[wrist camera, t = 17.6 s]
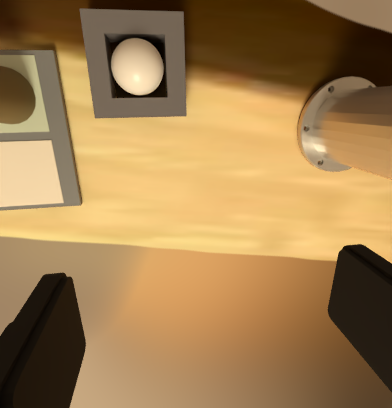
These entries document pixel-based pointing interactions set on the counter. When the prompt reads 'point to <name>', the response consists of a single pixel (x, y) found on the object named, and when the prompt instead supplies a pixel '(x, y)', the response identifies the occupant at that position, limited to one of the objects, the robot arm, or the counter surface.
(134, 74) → the cream white ball
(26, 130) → the game board
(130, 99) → the gray square holder
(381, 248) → the counter surface
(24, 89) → the brown pepper mill
